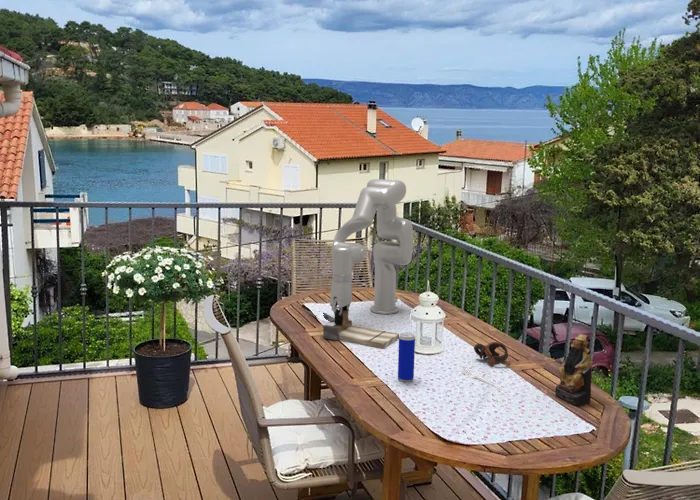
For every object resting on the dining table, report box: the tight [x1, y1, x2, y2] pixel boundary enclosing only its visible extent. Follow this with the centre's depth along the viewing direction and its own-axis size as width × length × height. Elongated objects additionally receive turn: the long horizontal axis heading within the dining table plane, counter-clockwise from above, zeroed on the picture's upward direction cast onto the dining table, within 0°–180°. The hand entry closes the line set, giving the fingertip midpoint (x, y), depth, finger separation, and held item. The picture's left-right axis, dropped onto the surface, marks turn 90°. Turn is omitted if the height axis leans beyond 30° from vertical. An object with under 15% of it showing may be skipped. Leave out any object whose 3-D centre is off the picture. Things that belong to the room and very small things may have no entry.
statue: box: [554, 333, 593, 407], centre depth 190 cm, size 12×8×20 cm, turn 20°
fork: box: [461, 366, 508, 393], centre depth 205 cm, size 3×20×2 cm, turn 33°
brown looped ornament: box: [473, 341, 509, 367], centre depth 223 cm, size 12×10×8 cm
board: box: [337, 324, 400, 349], centre depth 247 cm, size 14×26×2 cm, turn 61°
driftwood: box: [303, 309, 335, 323], centre depth 276 cm, size 21×7×2 cm, turn 29°
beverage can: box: [397, 332, 416, 383], centre depth 205 cm, size 5×5×15 cm
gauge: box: [322, 310, 353, 341], centre depth 249 cm, size 15×6×9 cm, turn 151°
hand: (341, 322), depth 250 cm, fingers closed on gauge, 4 cm apart
